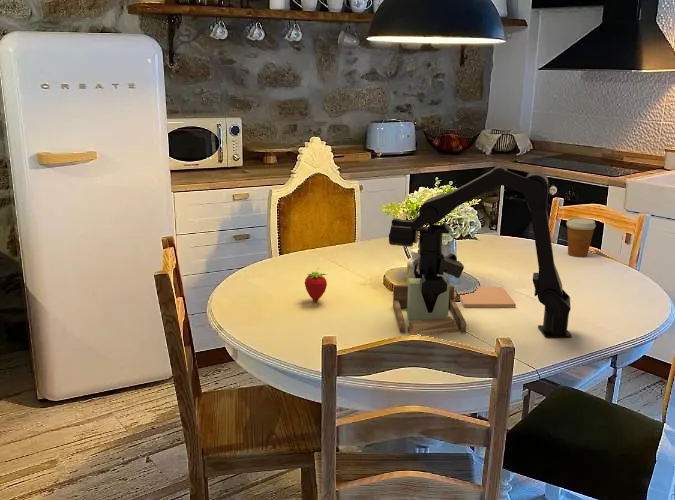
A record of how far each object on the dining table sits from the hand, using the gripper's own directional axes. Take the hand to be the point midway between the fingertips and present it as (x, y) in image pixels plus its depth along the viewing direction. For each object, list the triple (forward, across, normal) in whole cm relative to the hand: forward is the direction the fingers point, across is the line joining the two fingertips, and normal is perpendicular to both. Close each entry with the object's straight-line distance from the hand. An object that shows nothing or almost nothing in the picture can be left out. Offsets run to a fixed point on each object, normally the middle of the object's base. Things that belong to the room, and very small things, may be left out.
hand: (427, 306), depth 174 cm
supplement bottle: (+3, +18, 0) cm, 18 cm away
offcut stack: (+3, -9, 0) cm, 10 cm away
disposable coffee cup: (+3, +57, -60) cm, 83 cm away
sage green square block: (+3, 0, 0) cm, 3 cm away
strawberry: (+3, +11, +29) cm, 31 cm away
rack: (+3, 0, 0) cm, 3 cm away
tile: (+3, +14, -18) cm, 23 cm away
